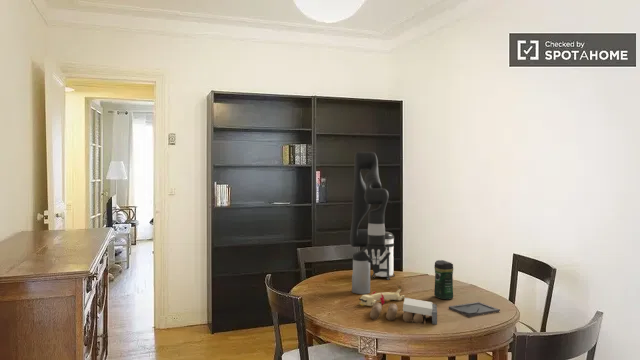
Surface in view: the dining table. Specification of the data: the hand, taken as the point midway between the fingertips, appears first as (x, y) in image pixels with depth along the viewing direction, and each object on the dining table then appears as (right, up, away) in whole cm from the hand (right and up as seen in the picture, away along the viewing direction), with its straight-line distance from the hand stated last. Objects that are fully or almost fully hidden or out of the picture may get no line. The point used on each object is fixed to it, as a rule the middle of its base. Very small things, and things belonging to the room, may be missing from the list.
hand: (376, 272), depth 197 cm
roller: (+17, -19, -4) cm, 26 cm away
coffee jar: (+38, -19, +29) cm, 51 cm away
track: (+9, -19, -2) cm, 21 cm away
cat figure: (+5, -19, +19) cm, 28 cm away
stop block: (+24, -19, -6) cm, 31 cm away
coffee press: (+13, -18, +71) cm, 75 cm away
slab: (+17, -15, -4) cm, 23 cm away
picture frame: (+46, -20, +8) cm, 51 cm away
